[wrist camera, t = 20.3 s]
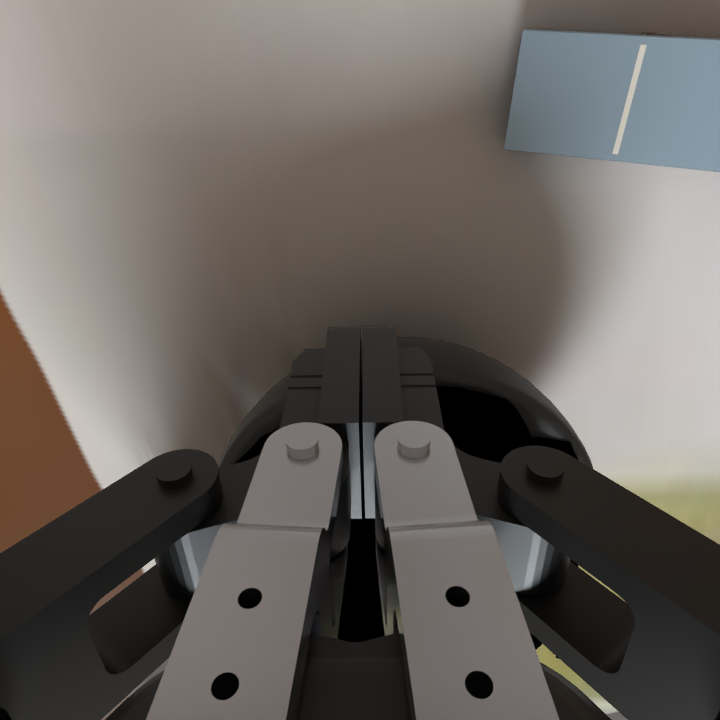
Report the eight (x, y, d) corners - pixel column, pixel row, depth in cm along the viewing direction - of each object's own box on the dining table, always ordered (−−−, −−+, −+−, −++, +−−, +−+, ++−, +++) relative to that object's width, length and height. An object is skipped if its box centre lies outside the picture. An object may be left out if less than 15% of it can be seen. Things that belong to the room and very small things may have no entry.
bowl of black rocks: (272, 518, 44) (218, 810, 29) (217, 283, 34) (80, 544, 18) (534, 507, 43) (628, 805, 27) (564, 260, 32) (747, 518, 17)
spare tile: (503, 149, 28) (734, 173, 25) (522, 30, 25) (783, 43, 22) (508, 142, 29) (727, 165, 26) (526, 28, 26) (773, 41, 24)
